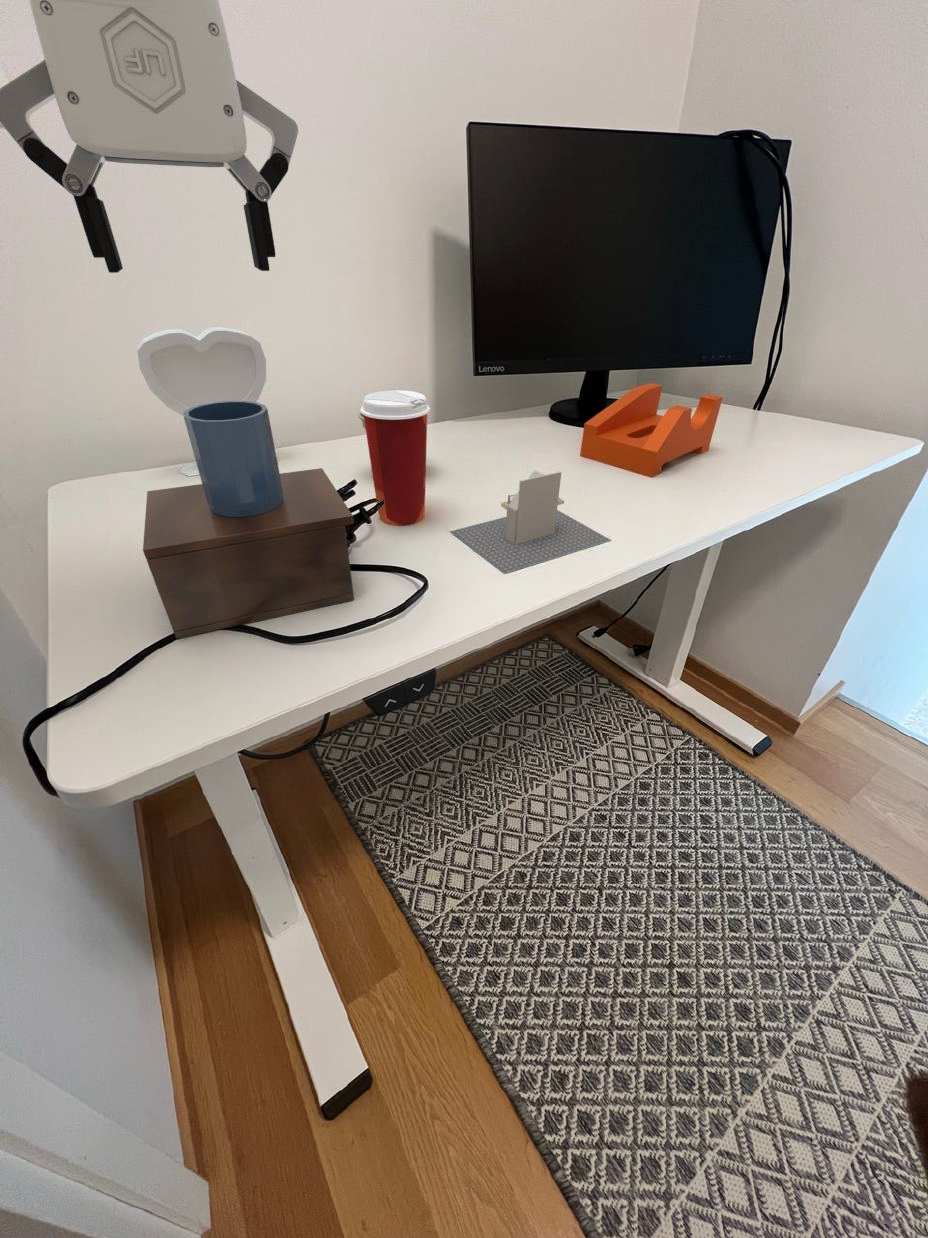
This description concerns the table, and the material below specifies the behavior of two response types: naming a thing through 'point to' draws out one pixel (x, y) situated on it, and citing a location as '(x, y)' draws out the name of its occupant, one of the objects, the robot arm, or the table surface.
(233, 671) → the table surface
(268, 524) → the box lid
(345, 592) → the box
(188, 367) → the heart sculpture
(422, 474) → the paper cup
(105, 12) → the robot arm
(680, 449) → the orange notched block
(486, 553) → the architectural model
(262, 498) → the cup
